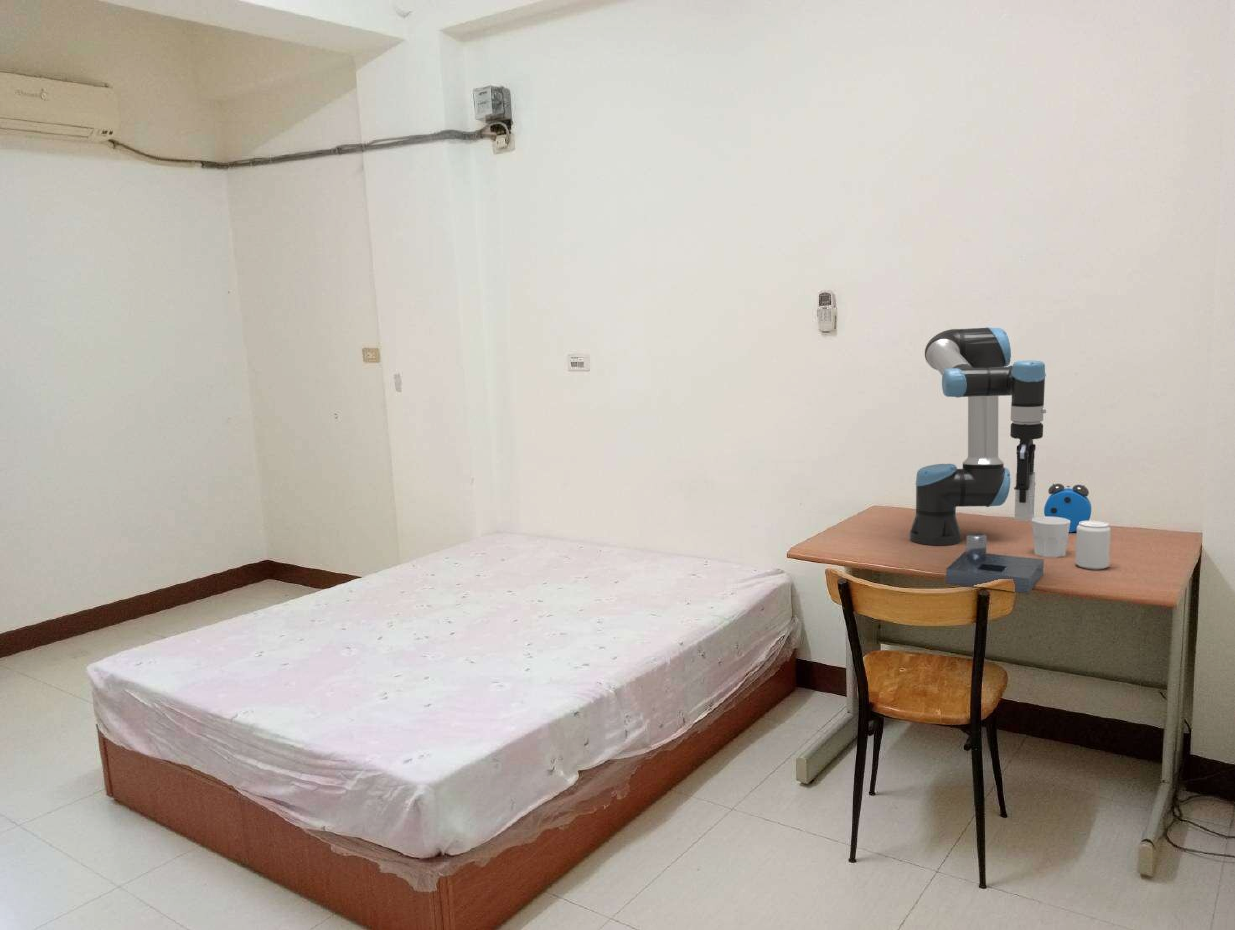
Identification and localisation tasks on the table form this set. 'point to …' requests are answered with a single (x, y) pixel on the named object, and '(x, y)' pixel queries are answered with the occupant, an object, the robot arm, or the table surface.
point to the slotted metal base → (993, 567)
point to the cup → (1050, 536)
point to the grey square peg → (1031, 499)
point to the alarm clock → (1068, 504)
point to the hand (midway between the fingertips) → (1024, 512)
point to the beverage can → (1093, 545)
